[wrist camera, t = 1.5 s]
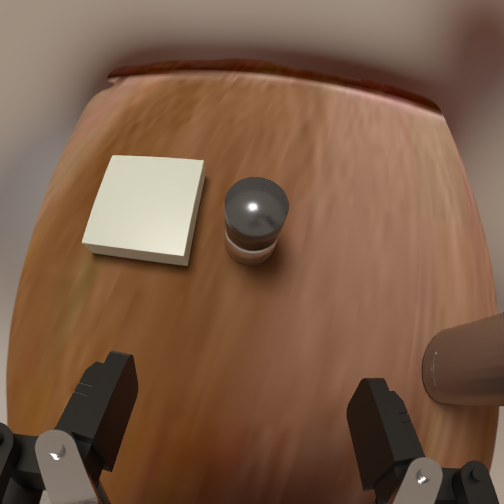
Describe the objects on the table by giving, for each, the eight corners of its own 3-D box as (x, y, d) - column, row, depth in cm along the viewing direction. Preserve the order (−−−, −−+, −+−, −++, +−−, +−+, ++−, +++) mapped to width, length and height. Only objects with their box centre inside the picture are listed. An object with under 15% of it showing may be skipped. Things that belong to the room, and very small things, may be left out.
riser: (205, 176, 35) (203, 160, 32) (187, 266, 31) (183, 256, 28) (119, 170, 34) (112, 155, 31) (92, 253, 30) (81, 242, 27)
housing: (276, 222, 33) (289, 181, 26) (272, 268, 31) (287, 236, 24) (228, 216, 33) (229, 173, 25) (222, 261, 31) (220, 228, 24)
